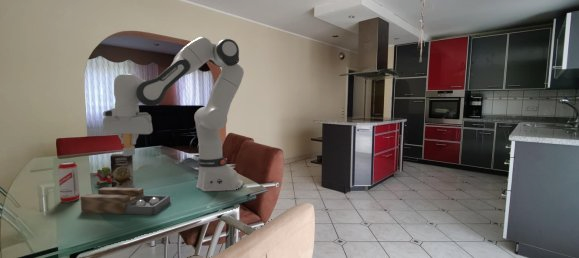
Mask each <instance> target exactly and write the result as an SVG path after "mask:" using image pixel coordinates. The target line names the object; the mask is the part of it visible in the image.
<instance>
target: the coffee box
mask: <svg viewBox="0 0 579 258" xmlns="http://www.w3.org/2000/svg"><path fill="white" fill-rule="evenodd" d="M109 158H110V170H111V182H110V183H112V184H111V187H113V188H134V185H135V183H134V182H135V179H134V154H133V155H130V156H123V153H114V154H113V153H112V154H111V155H110V157H109Z"/></svg>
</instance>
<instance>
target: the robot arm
mask: <svg viewBox="0 0 579 258" xmlns="http://www.w3.org/2000/svg"><path fill="white" fill-rule="evenodd" d="M207 62H210V63H212V64H213V65H215V67H218V68H221V69H220V70H221V71H220V73H219V76H218V78H217V79H216V81H215V83H214V85H213V87H212V88H211V90H210V93H209V98H208V101H207V104H206V106H203V107H200V108H198V109H197V110H196V112H195V113H194V116H193V117H194V122H195V128H196V130H195V131H196V135H197V136H196V137H197V139H198V158H197V168H198V176H197V182H196V186H195V187H196V188H197V189H198V190H200V191H202V192H222V191H223V192H224V191H226V190H227V191H236V189H237V190H238V188H239V189H241V188H242V187H243V186H244V182H243V180H241V179H239V174H238V173H237V171H236V170H235V169H234V168H232V167H231V166H229V165H228V164H227V160H228V158H227V157H226V158H225V157H224V156H223V141H222V138H221V135H220V130H221V129H223V128H225V126H226V125H227V123H228V114H229V110H230V108H231V104H232V102H233V100H234V98H235V96H236V94H237V93H238V90H239V88H240V87H241V83H242V81H243V77H244V73H245V72H244V69H243V67H242V66H241V65H240V64H239V62H240V49H239V45H238V43H237V42H236V41H235V40H233V39H231V38H223V39H221V40H219V42H218V43H216V44H215V43H213V42H212V41H211V40H210V39H209V38H207V37H205V36H200V37H197V38H196V39H194V40H192V41H190V42H189V43H188V44H186V45H185V46H184V47H182V48H181V49H180V51H178V53H176V55H175V56H174V58H173V60H172V63H171V64H170V66H169V67H167V68H166V69H165V70H164V71H163V72H161V73H160V74H159V75H158V76H157V77H154V78H152V79H148V80H145V79H143V78H141V77H139V76H137V75H136V74H133V73H125V74H124V73H123V74H119V75H117V76H116V77H115V78H114V81H113V95H114V99H115V101H114V108H111V109H109V110H108V109H107V110H105V111H103V112H102V116H103V117H104V118H103V119H102V131H103V133H104V134H107V135H118V138H119V139H120V141H121V145H124V134H132V136H133V139H132V140H130V142H131V143H130V144H133V145H136V144H137V140H138V138H139V135H150V134H152V133H153V131H154V129H153V123H152V116H151V114H149V113H148V112H141V111H140V108H139V104H140V103H141V104H143V105H145V106H147V107H148V106H149V107H153V106H157V105H159V104H160V103H161V102H162V101H163V99H164V98H165V96H166V93H167V91H168V90H169V89H170V88H171V87H172V86H173V85H174V84H176V82H178V81H179V80H180V79H181V78H183V77H184V76H187V75H190V74H192V73H194V72H195V71H197V70H198V69H200V68H201V67H202V66H203V65H204V64H206V63H207ZM241 186H242V187H241Z"/></svg>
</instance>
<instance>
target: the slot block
mask: <svg viewBox="0 0 579 258" xmlns="http://www.w3.org/2000/svg"><path fill="white" fill-rule="evenodd" d="M97 191H98V192H97V193H98V194H97V193H96V194H95V193H94V194H90V193H87V194H84V195H82V196H80V206H81V207H80V208H81V213H83V214H85V213H87V214H89V213H91V214H117V215H118V214H121V215H122V214H124V215H126V214H125V206H126V205H128V204H129V203H131V202H133V201H135V200H136V199H138V198H140V197H142V196H143V195H145V194H144V193H145V192H144V188H143V187H131V188H113V187H112V186H111V187H108V186H107V187H106V186H105V187H101V188H99V189H97Z"/></svg>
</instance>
